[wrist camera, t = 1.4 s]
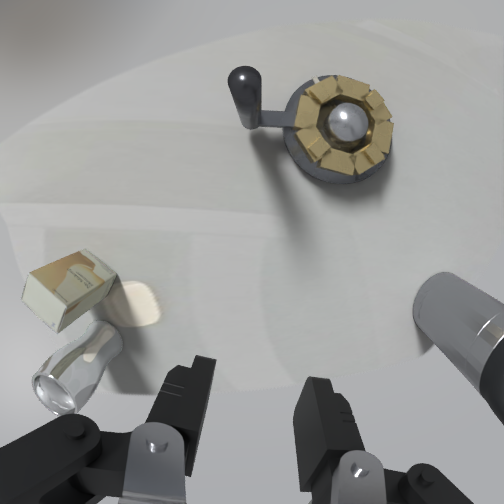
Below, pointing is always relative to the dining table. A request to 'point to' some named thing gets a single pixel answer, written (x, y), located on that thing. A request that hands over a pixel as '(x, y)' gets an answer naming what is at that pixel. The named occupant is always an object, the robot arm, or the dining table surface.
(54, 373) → the beer glass
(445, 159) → the dining table surface
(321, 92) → the lever crank
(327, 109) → the flange
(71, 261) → the skincare box
